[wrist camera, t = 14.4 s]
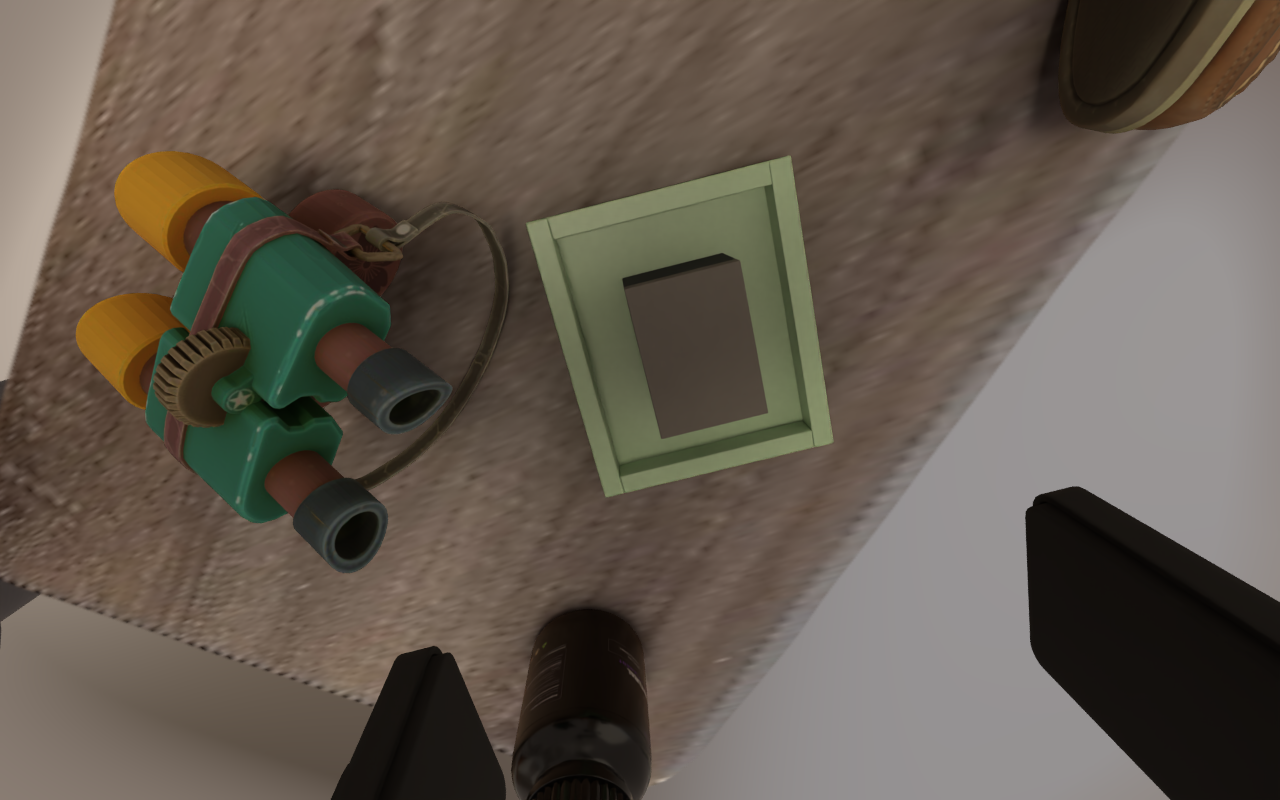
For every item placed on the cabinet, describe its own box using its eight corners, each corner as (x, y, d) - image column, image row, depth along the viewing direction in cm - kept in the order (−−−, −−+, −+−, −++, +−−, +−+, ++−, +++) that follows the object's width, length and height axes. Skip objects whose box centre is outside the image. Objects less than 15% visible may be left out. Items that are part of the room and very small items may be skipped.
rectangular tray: (605, 477, 33) (605, 498, 31) (531, 221, 29) (525, 223, 27) (817, 425, 33) (834, 443, 31) (775, 159, 29) (791, 154, 26)
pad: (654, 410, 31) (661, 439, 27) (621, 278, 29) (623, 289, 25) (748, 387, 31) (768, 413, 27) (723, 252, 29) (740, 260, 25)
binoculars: (446, 180, 31) (82, 29, 18) (659, 310, 27) (392, 243, 13) (351, 408, 35) (-14, 430, 21) (525, 557, 30) (203, 710, 16)
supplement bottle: (665, 636, 37) (691, 830, 25) (603, 711, 38) (601, 925, 27) (570, 584, 35) (552, 766, 24) (510, 664, 37) (466, 870, 26)
